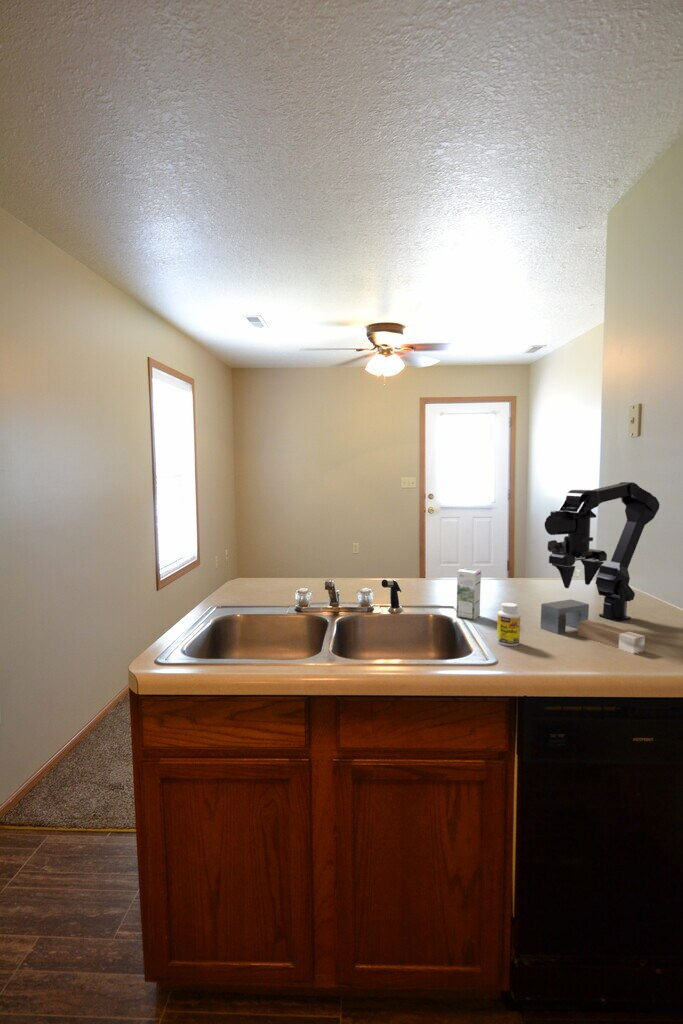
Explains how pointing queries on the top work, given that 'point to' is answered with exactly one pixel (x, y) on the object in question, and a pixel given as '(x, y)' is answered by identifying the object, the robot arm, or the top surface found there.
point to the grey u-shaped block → (563, 615)
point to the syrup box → (468, 593)
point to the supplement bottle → (508, 625)
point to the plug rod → (611, 636)
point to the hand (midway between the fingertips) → (577, 586)
